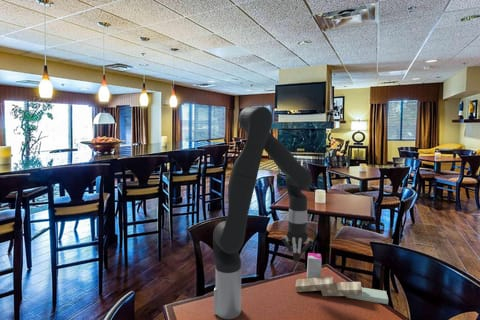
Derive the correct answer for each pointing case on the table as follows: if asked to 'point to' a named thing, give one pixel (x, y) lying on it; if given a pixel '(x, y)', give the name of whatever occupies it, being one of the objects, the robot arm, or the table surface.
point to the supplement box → (314, 265)
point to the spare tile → (372, 296)
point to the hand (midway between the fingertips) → (296, 260)
